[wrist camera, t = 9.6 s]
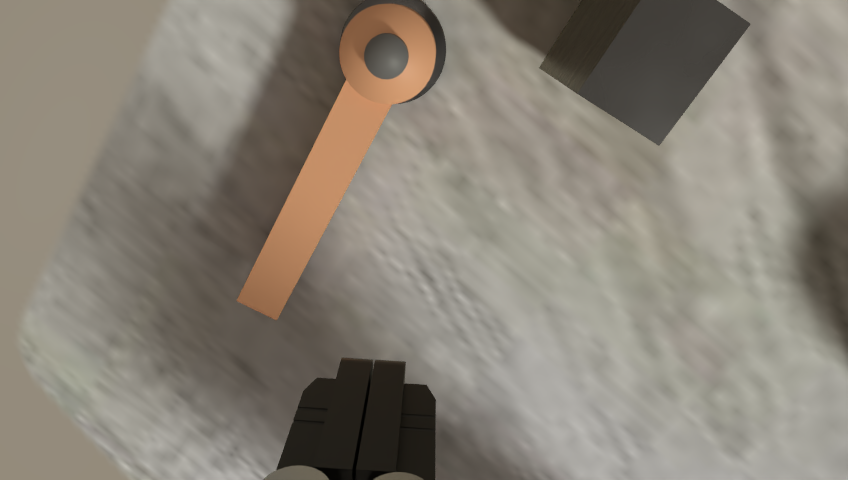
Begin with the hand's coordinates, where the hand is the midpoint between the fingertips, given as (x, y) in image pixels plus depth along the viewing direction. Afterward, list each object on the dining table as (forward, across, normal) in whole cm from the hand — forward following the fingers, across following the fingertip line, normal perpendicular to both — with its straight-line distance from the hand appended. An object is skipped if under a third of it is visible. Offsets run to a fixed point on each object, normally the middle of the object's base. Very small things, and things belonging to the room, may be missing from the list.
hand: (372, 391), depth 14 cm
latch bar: (+14, +3, -2) cm, 14 cm away
